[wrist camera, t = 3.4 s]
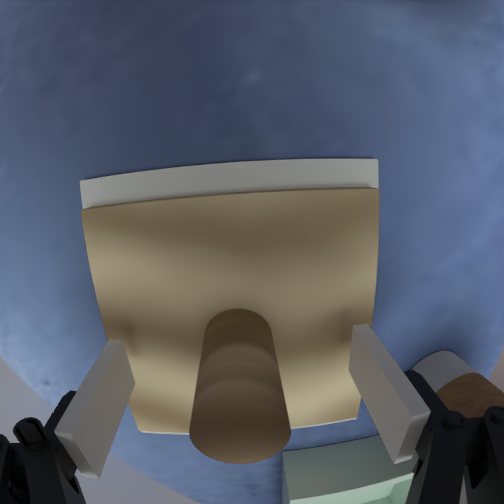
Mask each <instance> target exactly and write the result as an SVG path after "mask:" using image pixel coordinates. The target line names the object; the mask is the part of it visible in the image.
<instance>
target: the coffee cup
mask: <svg viewBox="0 0 504 504" xmlns="http://www.w3.org/2000/svg"><path fill="white" fill-rule="evenodd" d="M411 370H414V371H416V372H418V373H419V374H421V375H422V376H423V377H424V379H425V380H426V381H427V382H428V384H429V385H430V386H431V388H432V390H434V392H435V393H436V394H437V395H438V397H439V398H440V399H441V401H442V402H443V403H444V405H445V406H446V407H447V409H448V410H453V411H457V412H459V413H461V414H463V415H464V416H465V418H474V417H483V415H484V413H485V411H486V410H487V409H488V408H489V407H492V406H501V407H504V393H503V392H502V391H501V390H499V389H498V388H497V387H496V386H494V385H493V384H492V383H491V382H489V381H488V380H487V379H486V378H484V377H483V376H482V375H480V374H479V373H477V372H476V371H475V370H474V369H473V368H471V367H470V366H469V365H468V364H467V363H466V362H464V361H463V360H462V359H461V358H459V357H458V356H457V355H456V354H454V353H453V352H450V351H439V352H435V353H433V354H430V355H428V356H427V357H425V358H423V359H422V360H421V361H419V362H418V363H417V364H416V365H415V366H414V367H413V368H412V369H411ZM459 504H467V496H466V489H465V482H464V475H463V482H462V489H461V495H460V501H459Z"/></svg>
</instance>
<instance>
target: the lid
mask: <svg viewBox="0 0 504 504" xmlns="http://www.w3.org/2000/svg"><path fill="white" fill-rule="evenodd" d="M379 199H380V192H379V189H377V188H373V187H337V188H305V189H282V190H263V191H246V192H231V193H218V194H205V195H193V196H182V197H172V198H161V199H152V200H143V201H134V202H125V203H117V204H109V205H101V206H94V207H89V208H86V209H83V210H81V217H82V224H83V230H84V237H85V243H86V249H87V254H88V260H89V265H90V270H91V275H92V279H93V284H94V289H95V293H96V297H97V302H98V306H99V310H100V314H101V318H102V322H103V325H104V329H105V333H106V336H107V340H108V341H109V340H123V342H124V346H125V350H126V353H127V357H128V360H129V364H130V367H131V370H132V374H133V377H134V380H135V386H134V388H133V391H132V393H131V396H130V398H129V401H128V404H129V406H130V409H131V412H132V414H133V417H134V419H135V422H136V424H137V427H138V429H139V431H149V432H170V433H189V435H190V439H191V441H192V443H193V444H194V446H195V447H196V448H197V449H198V450H199V451H200V452H202V453H203V454H205V455H206V456H208V457H210V458H213V459H215V460H218V461H222V462H226V463H234V464H246V463H254V462H258V461H262V460H265V459H268V458H270V457H272V456H274V455H275V454H277V453H278V452H280V451H281V450H282V449H283V448H284V447H285V446H286V444H287V443H288V441H289V439H290V436H291V428H292V427H300V426H308V425H315V424H322V423H328V422H334V421H340V420H346V419H351V418H356V417H357V416H358V411H359V406H360V401H361V395H360V393H359V391H358V389H357V387H356V385H355V383H354V381H353V379H352V377H351V375H350V373H349V371H348V368H349V360H350V351H351V341H352V331H353V325H360V324H368V325H369V326H370V328H371V329H372V321H373V312H374V301H375V290H376V278H377V263H378V243H379Z"/></svg>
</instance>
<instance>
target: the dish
mask: <svg viewBox="0 0 504 504" xmlns="http://www.w3.org/2000/svg"><path fill="white" fill-rule="evenodd" d="M418 458H419V456H418V454H417V452H416V450H415V451H414V454H413V456H412V458H411V459H409V460H406V461H403V462H400V463H396V464H394V463H393V461H392V459H391V457H390V455H389V453H388V451H387V449H386V446H385V444H384V442H383V440H382V438H381V436H380V435H376V436H372V437H368V438H363V439H359V440H354V441H349V442H344V443H339V444H333V445H327V446H321V447H315V448H308V449H301V450H293V451H284V452H282V504H405V502H406V499H407V496H408V492H409V489H410V485H411V482H412V478H413V475H414V473H411V472H412V470H413V468H414V467H415V465H416V462H417V460H418Z"/></svg>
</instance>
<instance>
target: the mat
mask: <svg viewBox="0 0 504 504" xmlns="http://www.w3.org/2000/svg"><path fill="white" fill-rule="evenodd" d="M337 187H373V188H377V189H379V186H378V159H288V160H264V161H246V162H231V163H217V164H205V165H194V166H184V167H174V168H165V169H157V170H149V171H141V172H133V173H126V174H119V175H113V176H106V177H100V178H94V179H88V180H82V181H80V189H81V198H82V206H83V209H86V208H89V207H94V206H101V205H109V204H117V203H125V202H134V201H143V200H152V199H161V198H172V197H182V196H193V195H205V194H218V193H231V192H246V191H263V190H282V189H305V188H337ZM356 418H357V417H356ZM356 418H351V419H346V420H340V421H334V422H328V423H322V424H315V425H308V426H300V427H292V428H291V429H296V428H304V427H312V426H318V425H325V424H331V423H337V422H343V421H348V420H353V419H356ZM141 432H143V433H160V434H189V433H170V432H149V431H141Z"/></svg>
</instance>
